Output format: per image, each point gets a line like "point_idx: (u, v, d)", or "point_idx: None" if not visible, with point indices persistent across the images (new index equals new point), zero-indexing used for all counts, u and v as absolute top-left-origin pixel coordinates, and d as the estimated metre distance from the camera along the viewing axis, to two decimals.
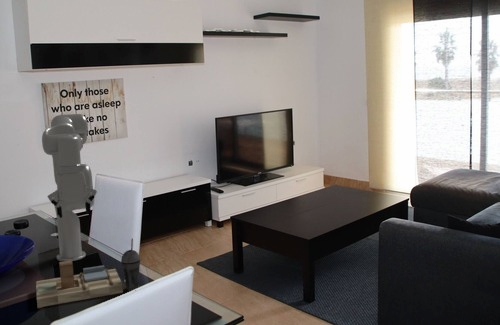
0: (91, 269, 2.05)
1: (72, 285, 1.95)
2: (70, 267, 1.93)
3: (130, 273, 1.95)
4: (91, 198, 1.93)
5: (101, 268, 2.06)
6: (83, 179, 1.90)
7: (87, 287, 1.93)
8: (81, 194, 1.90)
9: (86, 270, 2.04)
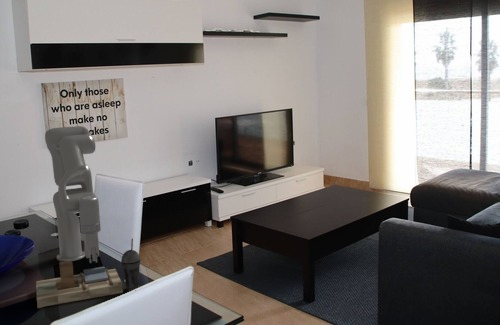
0: (91, 270, 2.04)
1: (72, 285, 1.95)
2: (70, 267, 1.93)
3: (130, 273, 1.95)
4: None
5: (102, 269, 2.05)
6: None
7: (87, 287, 1.93)
8: None
9: (86, 271, 2.03)
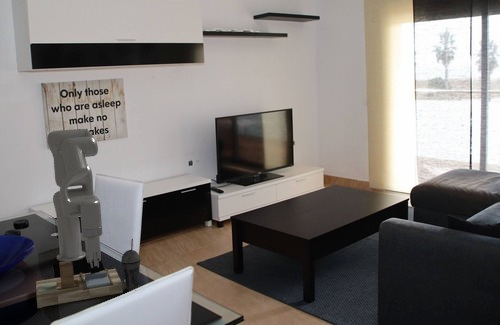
0: (93, 275, 1.98)
1: (72, 285, 1.95)
2: (70, 267, 1.93)
3: (130, 273, 1.95)
4: None
5: (103, 274, 2.00)
6: None
7: None
8: None
9: (88, 276, 1.98)
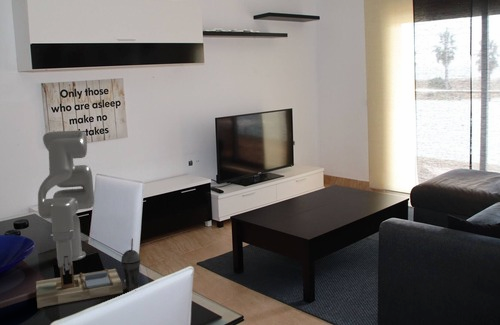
0: (93, 275, 1.98)
1: (72, 285, 1.95)
2: None
3: (130, 273, 1.95)
4: None
5: (103, 274, 2.00)
6: None
7: None
8: None
9: (88, 276, 1.98)
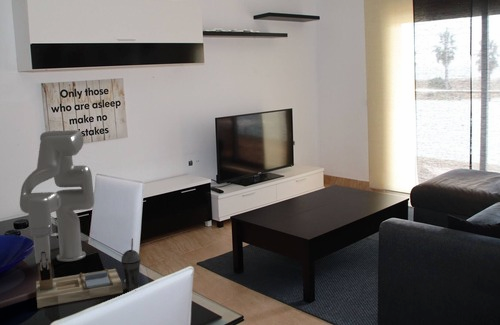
0: (93, 275, 1.98)
1: (50, 284, 1.92)
2: None
3: (130, 273, 1.95)
4: None
5: (103, 274, 2.00)
6: None
7: None
8: None
9: (88, 276, 1.98)
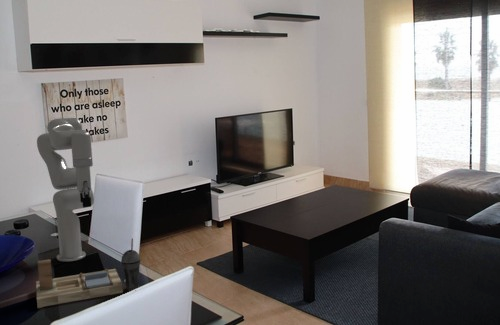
0: (93, 275, 1.98)
1: (50, 284, 1.92)
2: (48, 266, 1.90)
3: (130, 273, 1.95)
4: None
5: (103, 274, 2.00)
6: None
7: None
8: None
9: (88, 276, 1.98)
